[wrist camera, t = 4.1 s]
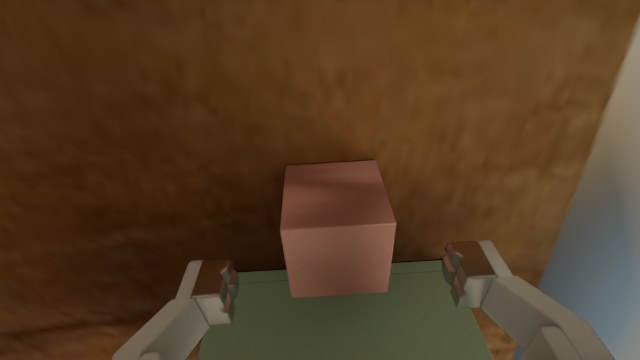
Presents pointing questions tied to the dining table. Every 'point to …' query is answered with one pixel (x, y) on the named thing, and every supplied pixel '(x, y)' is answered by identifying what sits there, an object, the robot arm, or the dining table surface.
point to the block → (336, 229)
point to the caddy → (348, 321)
